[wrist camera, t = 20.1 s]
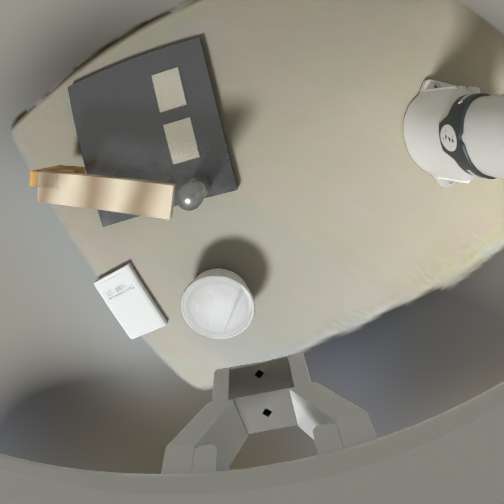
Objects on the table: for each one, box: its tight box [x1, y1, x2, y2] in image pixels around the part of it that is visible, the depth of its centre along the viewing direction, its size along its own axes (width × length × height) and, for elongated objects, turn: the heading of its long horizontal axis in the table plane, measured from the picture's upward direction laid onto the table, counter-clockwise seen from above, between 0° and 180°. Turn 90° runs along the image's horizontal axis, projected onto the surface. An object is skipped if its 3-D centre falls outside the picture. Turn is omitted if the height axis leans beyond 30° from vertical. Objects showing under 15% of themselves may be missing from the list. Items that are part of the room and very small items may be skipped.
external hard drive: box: [94, 263, 168, 339], centre depth 52 cm, size 2×8×12 cm
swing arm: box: [30, 165, 176, 220], centre depth 39 cm, size 20×4×8 cm, turn 80°
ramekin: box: [181, 268, 255, 339], centre depth 50 cm, size 11×11×5 cm
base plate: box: [68, 37, 237, 227], centre depth 38 cm, size 22×24×12 cm
